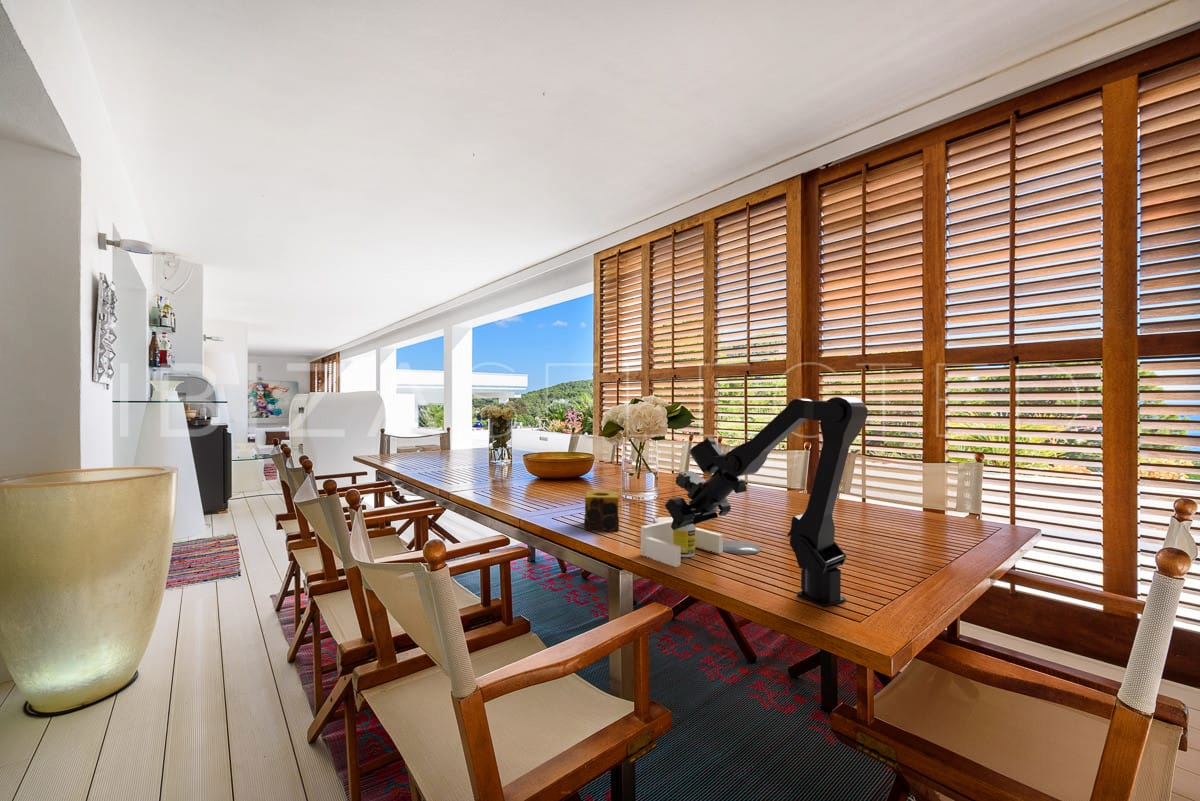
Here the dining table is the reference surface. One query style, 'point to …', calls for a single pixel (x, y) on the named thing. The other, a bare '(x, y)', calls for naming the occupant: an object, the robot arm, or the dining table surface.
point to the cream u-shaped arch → (662, 548)
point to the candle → (601, 511)
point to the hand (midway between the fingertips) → (680, 526)
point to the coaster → (740, 547)
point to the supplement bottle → (685, 540)
